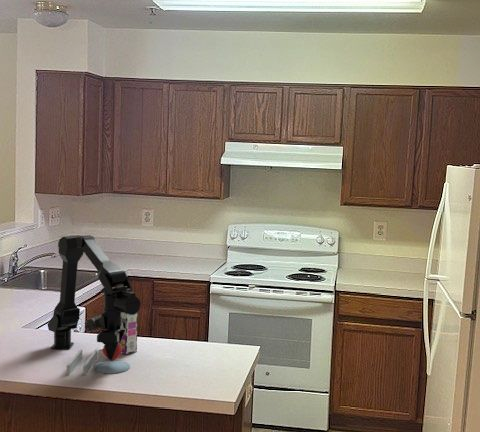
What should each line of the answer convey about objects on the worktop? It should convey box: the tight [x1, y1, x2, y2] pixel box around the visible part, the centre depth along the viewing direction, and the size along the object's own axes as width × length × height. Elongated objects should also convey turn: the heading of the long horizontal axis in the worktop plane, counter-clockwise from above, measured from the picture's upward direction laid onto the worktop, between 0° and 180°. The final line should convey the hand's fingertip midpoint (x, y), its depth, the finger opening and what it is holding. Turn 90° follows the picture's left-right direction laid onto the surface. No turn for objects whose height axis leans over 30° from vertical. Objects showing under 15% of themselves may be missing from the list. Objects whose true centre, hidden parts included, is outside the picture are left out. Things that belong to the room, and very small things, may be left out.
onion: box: [102, 343, 123, 361], centre depth 210 cm, size 6×6×8 cm
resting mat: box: [94, 360, 131, 375], centre depth 210 cm, size 11×11×1 cm
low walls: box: [66, 349, 98, 376], centre depth 210 cm, size 16×6×3 cm, turn 0°
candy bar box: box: [120, 311, 139, 355], centre depth 228 cm, size 11×5×16 cm, turn 47°
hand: (112, 356), depth 210 cm, fingers closed on onion, 6 cm apart
